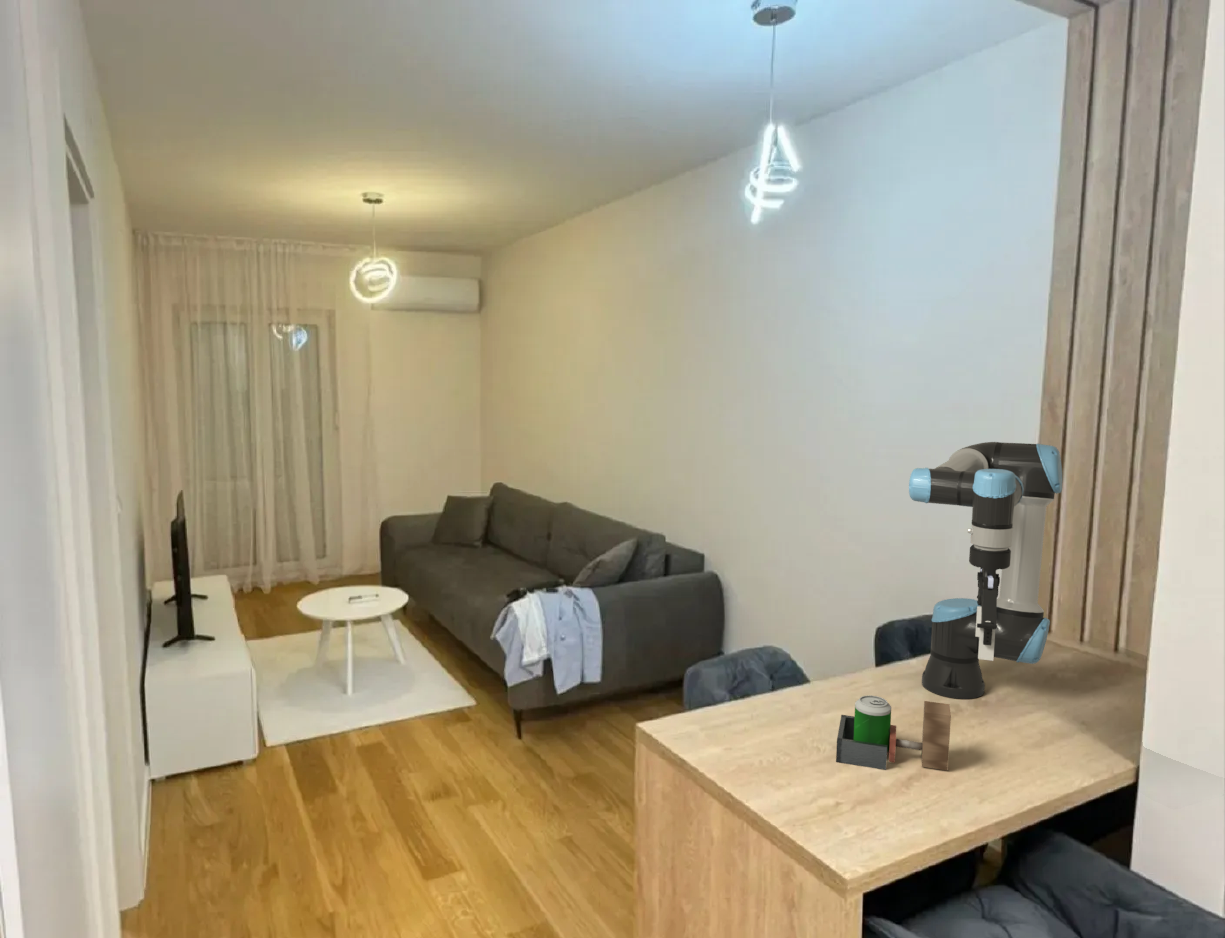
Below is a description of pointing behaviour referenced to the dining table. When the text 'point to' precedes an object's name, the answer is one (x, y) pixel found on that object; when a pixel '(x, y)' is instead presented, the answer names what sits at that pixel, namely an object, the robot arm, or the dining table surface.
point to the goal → (858, 748)
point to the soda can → (872, 720)
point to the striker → (929, 737)
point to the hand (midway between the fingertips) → (983, 647)
